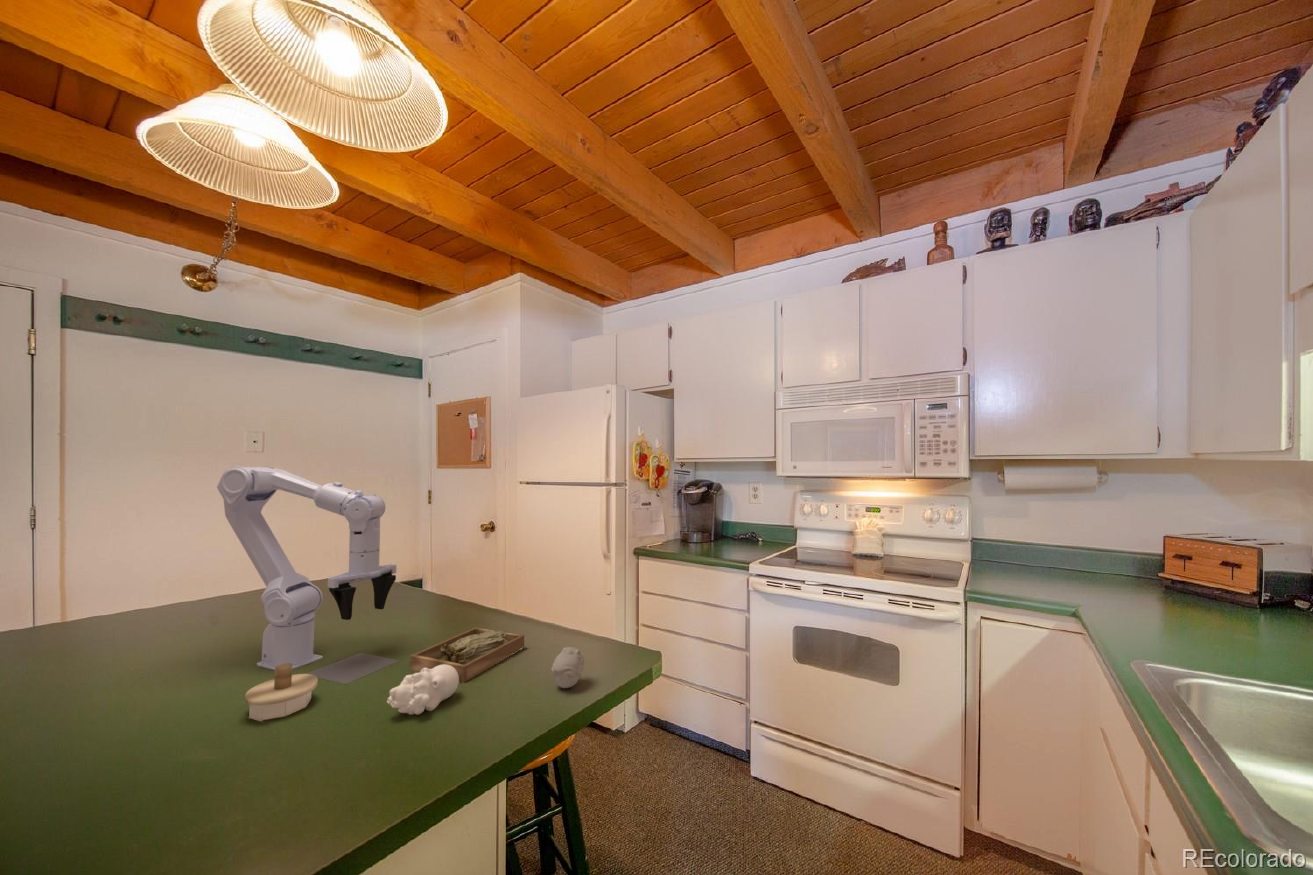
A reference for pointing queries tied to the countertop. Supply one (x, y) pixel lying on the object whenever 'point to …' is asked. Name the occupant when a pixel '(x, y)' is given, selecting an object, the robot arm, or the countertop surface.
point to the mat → (352, 668)
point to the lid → (281, 687)
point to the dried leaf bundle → (472, 646)
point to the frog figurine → (567, 667)
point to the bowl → (278, 708)
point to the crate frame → (474, 667)
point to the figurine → (424, 689)
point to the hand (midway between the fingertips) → (363, 613)
